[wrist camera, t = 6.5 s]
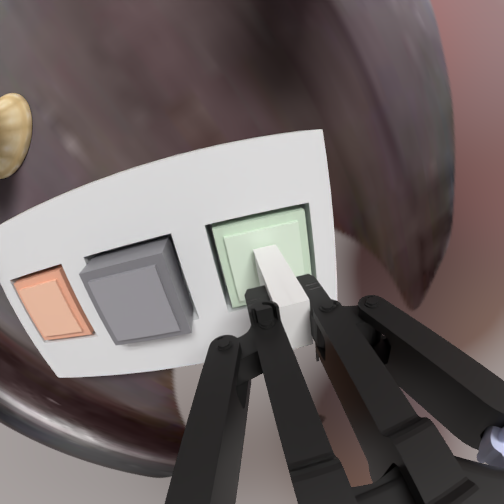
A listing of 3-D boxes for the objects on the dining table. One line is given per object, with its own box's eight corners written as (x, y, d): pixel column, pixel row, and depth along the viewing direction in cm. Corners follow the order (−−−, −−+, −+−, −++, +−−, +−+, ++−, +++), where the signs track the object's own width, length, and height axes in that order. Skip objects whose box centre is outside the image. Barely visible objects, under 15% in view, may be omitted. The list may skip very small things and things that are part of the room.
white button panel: (71, 349, 25) (58, 377, 20) (9, 219, 18) (-19, 235, 14) (319, 301, 26) (337, 329, 22) (299, 130, 20) (322, 129, 16)
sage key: (229, 287, 22) (233, 310, 19) (211, 217, 20) (212, 231, 17) (300, 270, 23) (314, 290, 20) (291, 200, 20) (305, 210, 17)
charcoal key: (124, 321, 20) (114, 348, 17) (94, 255, 17) (77, 276, 14) (193, 308, 20) (191, 335, 17) (168, 235, 18) (161, 255, 15)
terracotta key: (56, 321, 21) (43, 342, 18) (29, 268, 19) (11, 285, 16) (102, 313, 22) (90, 336, 18) (74, 254, 19) (57, 272, 16)
